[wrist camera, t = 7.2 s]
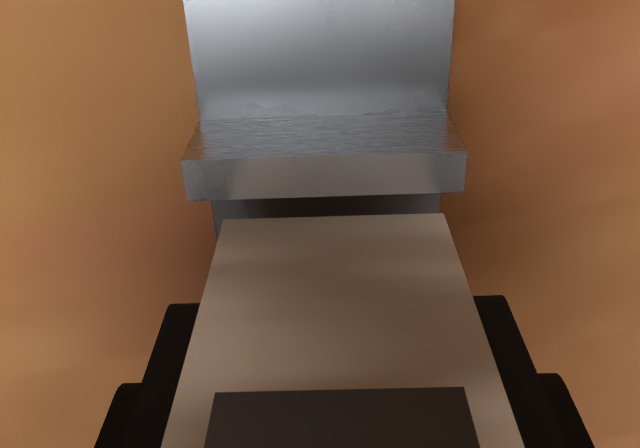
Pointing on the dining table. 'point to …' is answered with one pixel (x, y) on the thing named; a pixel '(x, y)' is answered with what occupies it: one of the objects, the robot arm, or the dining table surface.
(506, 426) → the block
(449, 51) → the rail
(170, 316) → the robot arm
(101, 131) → the dining table surface
